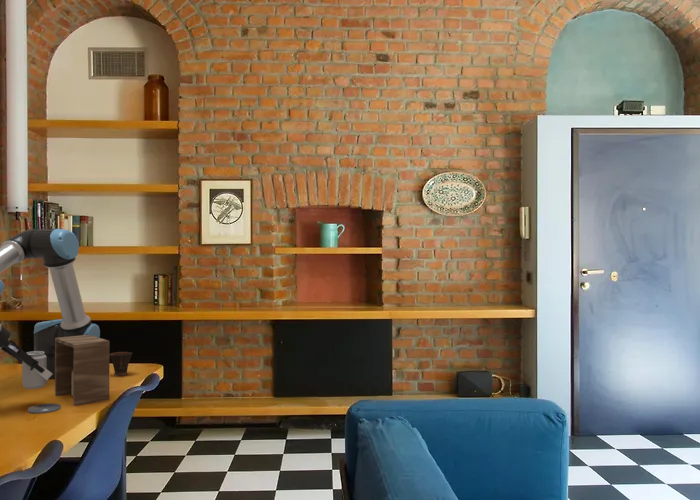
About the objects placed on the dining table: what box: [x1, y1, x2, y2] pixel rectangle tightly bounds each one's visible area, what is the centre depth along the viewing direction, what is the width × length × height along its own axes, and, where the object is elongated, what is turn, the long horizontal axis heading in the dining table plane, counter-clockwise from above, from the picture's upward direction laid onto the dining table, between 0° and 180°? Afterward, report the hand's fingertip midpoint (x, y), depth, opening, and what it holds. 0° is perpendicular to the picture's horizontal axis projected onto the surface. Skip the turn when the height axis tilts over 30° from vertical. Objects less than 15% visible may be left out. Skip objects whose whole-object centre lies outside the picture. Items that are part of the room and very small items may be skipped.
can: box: [21, 350, 48, 390], centre depth 208 cm, size 8×8×12 cm
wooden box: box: [54, 335, 111, 407], centre depth 220 cm, size 19×12×21 cm, turn 45°
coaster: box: [27, 403, 62, 415], centre depth 204 cm, size 10×10×1 cm
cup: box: [110, 351, 133, 377], centre depth 256 cm, size 9×9×10 cm
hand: (45, 374), depth 211 cm, fingers closed on can, 7 cm apart
